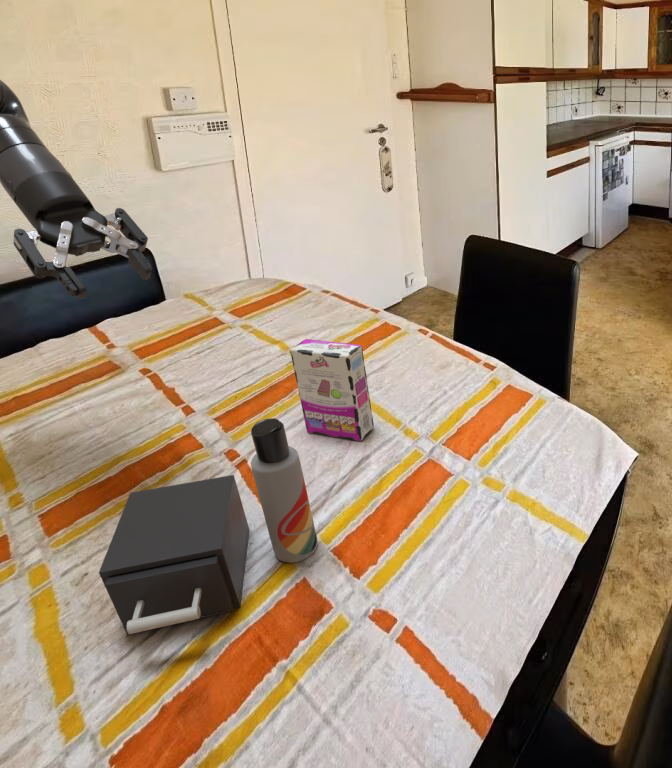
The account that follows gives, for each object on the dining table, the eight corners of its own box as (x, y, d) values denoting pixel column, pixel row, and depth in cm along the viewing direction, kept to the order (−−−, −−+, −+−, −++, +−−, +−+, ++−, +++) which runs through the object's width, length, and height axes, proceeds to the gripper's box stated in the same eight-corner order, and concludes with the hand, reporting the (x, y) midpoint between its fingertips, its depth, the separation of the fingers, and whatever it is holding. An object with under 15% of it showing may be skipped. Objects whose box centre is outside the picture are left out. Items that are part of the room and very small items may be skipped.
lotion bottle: (323, 553, 84) (295, 428, 74) (279, 569, 81) (245, 442, 72) (312, 528, 88) (285, 407, 78) (270, 543, 86) (237, 420, 76)
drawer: (228, 639, 71) (211, 589, 67) (117, 664, 68) (93, 614, 64) (242, 536, 86) (228, 491, 82) (151, 553, 83) (133, 508, 79)
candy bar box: (375, 427, 111) (363, 344, 103) (361, 442, 107) (348, 356, 99) (321, 418, 114) (305, 336, 106) (305, 432, 110) (287, 349, 102)
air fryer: (240, 607, 76) (221, 548, 71) (126, 632, 73) (98, 572, 68) (249, 529, 88) (233, 474, 84) (152, 548, 85) (130, 492, 81)
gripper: (94, 197, 91) (162, 285, 91) (-20, 218, 80) (56, 317, 80) (101, 161, 86) (172, 255, 86) (-20, 179, 75) (61, 285, 75)
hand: (116, 285), depth 83 cm, fingers open, 8 cm apart
